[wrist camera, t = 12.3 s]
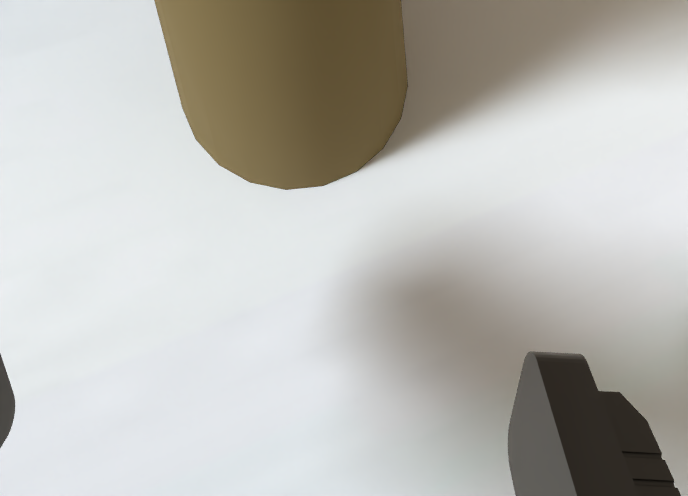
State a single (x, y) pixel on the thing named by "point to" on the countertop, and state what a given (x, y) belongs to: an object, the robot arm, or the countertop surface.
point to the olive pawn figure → (288, 83)
